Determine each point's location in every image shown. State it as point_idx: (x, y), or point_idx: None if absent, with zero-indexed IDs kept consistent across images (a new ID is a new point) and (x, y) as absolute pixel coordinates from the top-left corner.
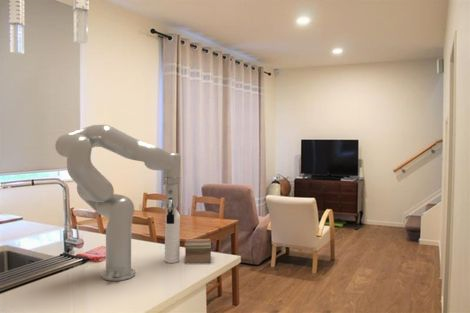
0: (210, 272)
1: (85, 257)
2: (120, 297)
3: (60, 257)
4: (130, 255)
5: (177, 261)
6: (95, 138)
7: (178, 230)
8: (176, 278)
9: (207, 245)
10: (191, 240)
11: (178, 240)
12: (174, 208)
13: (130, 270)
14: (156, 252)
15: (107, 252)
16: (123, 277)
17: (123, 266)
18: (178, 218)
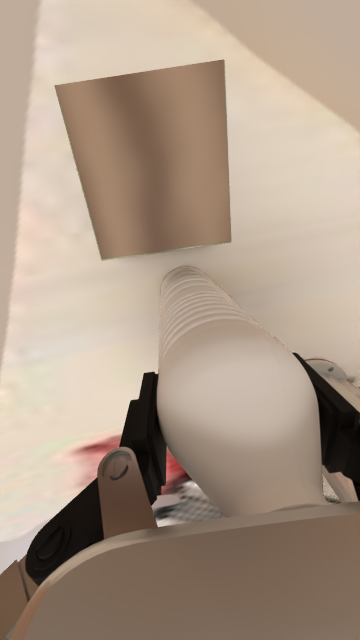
0: (317, 110)
1: (176, 481)
2: None
3: (181, 512)
4: (354, 406)
5: (199, 270)
6: None
7: (231, 301)
8: (354, 242)
9: (224, 90)
10: (126, 223)
11: (213, 284)
12: (321, 495)
13: (320, 375)
14: (101, 358)
15: None
16: (346, 376)
17: (356, 396)
18: (277, 341)
